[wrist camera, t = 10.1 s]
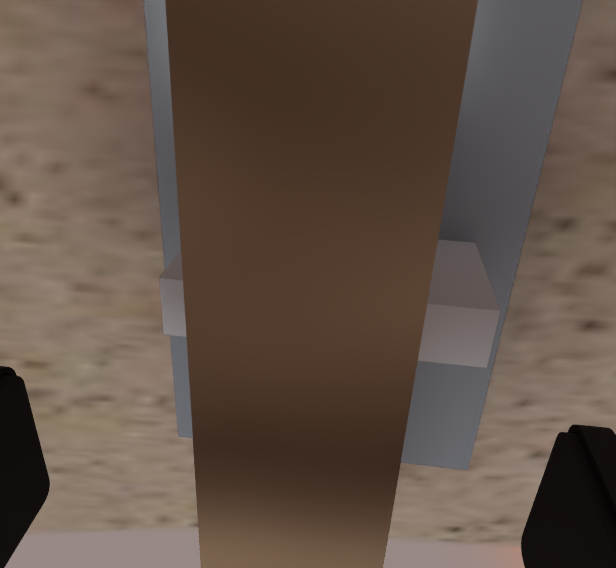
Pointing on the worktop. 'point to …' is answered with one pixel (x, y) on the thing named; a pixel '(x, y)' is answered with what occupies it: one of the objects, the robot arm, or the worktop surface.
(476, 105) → the fulcrum board
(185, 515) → the worktop surface
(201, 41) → the beam
